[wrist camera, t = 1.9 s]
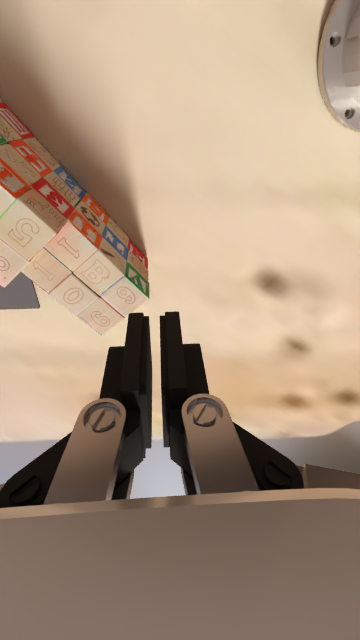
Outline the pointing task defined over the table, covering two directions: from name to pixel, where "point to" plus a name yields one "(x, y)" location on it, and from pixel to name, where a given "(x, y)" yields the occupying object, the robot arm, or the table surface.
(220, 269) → the table surface
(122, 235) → the stack of blocks
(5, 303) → the mat
